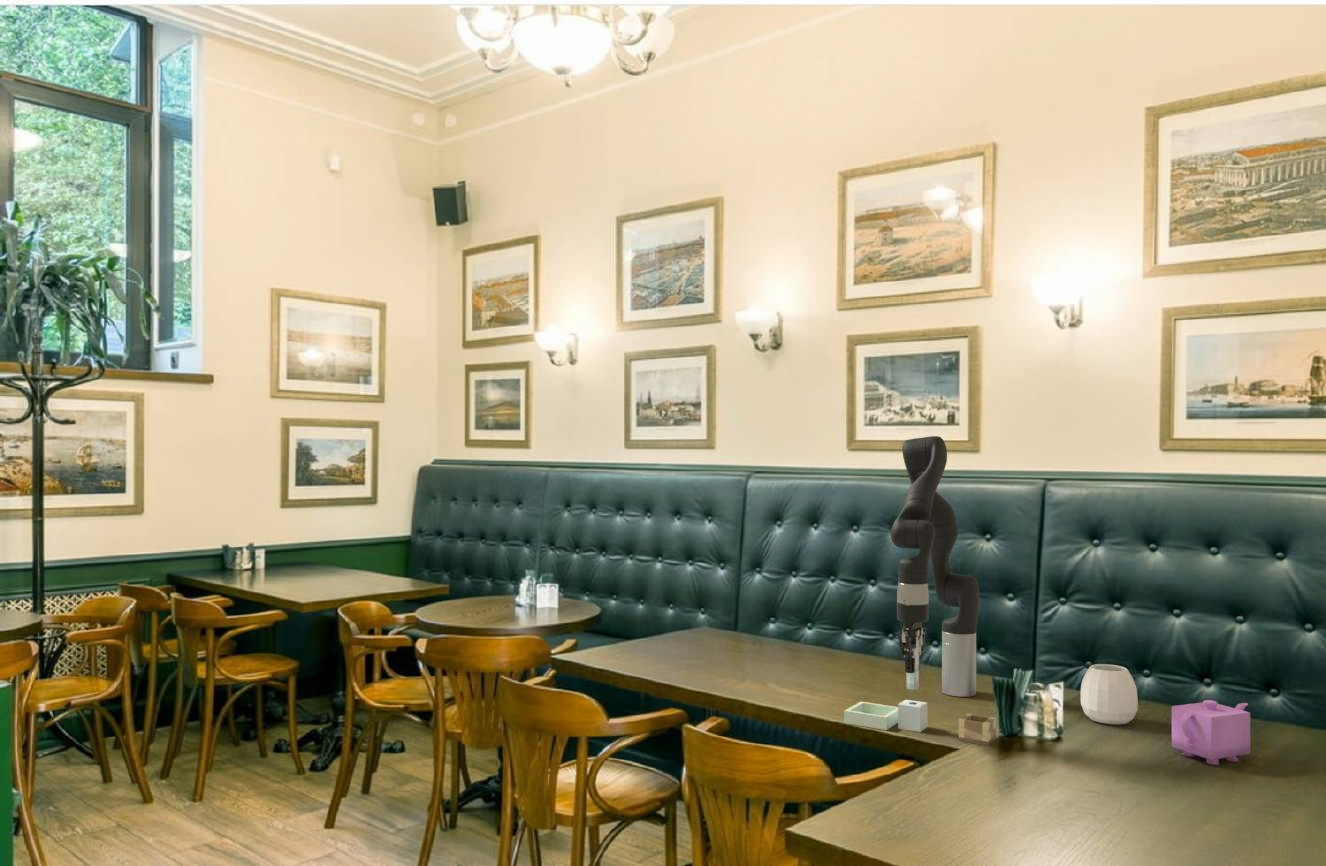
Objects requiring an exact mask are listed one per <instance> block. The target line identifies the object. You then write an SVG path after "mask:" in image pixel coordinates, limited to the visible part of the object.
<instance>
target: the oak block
mask: <svg viewBox="0 0 1326 866" xmlns="http://www.w3.org/2000/svg"><path fill="white" fill-rule="evenodd" d="M996 739H997V718H996V717H992V716H986V715H979V714H972V713H966V714H964V715H962V717H960V718H959V719H958V741H959V742H965V743H972V744H977V745H981V746H982V745H983V746H989V745H991V743H993V742H994V741H995V740H996Z"/></svg>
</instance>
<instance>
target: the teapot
mask: <svg viewBox="0 0 1326 866" xmlns="http://www.w3.org/2000/svg"><path fill="white" fill-rule="evenodd" d="M1248 705H1249V703H1247V702H1241V703H1237V705H1236V706H1235V707H1231V706H1228V705H1223V704H1221V703H1220V704H1219V703H1218V701H1216V700H1212V699H1205V700H1203V701H1202V702H1196V703H1187V704H1178V705H1172V706H1171V747H1172V748H1174V749H1177V750H1179V751H1183V753H1182V755H1183V756H1185V757H1190V758H1191V757H1193V758H1194V757H1196V756H1198V757H1201V758H1204V759H1206V761H1205V762H1206V764H1209V765H1213V766H1214V765H1215V766H1219V765H1220V761H1219V760H1222V759H1226V761H1229V762H1234V763H1235V762H1236V763H1239V762H1240V760H1239V758H1238V757H1240V756H1247V755H1251V712H1249V711H1246V710H1245V708H1246V707H1247V706H1248Z"/></svg>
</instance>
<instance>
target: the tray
mask: <svg viewBox="0 0 1326 866" xmlns="http://www.w3.org/2000/svg"><path fill="white" fill-rule="evenodd" d="M843 724H847V725H853V726H858V727H864V728H870V729H875V730H877V729H878V730H882V731H883V730H884V731H888V730H889V729H890V728H892V727H894V726H896V725H898V706H894V705H886V704H880V703H875V702H874V703H873V702H867V701H859V702H857V703H855V704H854V705H851V706H850V707H848V708H847V709H844V711H843Z"/></svg>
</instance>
